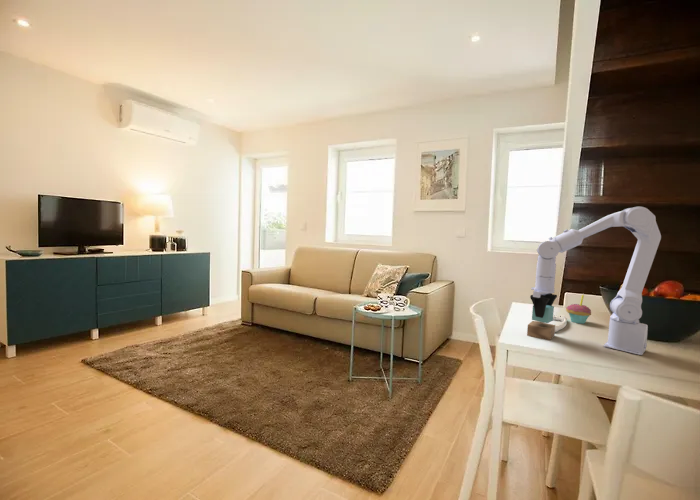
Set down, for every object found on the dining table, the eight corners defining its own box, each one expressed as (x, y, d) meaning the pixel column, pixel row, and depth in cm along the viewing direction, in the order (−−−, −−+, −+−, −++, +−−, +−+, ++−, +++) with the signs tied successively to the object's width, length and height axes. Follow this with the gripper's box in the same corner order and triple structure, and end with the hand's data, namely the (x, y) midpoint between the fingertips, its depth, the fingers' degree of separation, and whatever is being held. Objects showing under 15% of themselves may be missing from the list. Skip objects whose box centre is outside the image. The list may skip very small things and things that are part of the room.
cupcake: (595, 325, 135) (598, 294, 134) (573, 324, 135) (576, 294, 134) (581, 319, 144) (583, 290, 143) (560, 318, 144) (562, 289, 143)
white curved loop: (571, 322, 140) (558, 335, 121) (543, 317, 147) (527, 329, 128) (571, 315, 140) (559, 328, 121) (544, 310, 147) (528, 322, 128)
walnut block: (554, 336, 120) (555, 324, 120) (550, 341, 115) (551, 329, 115) (531, 331, 125) (532, 320, 125) (526, 336, 119) (527, 324, 119)
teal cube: (552, 320, 119) (553, 306, 119) (547, 323, 116) (548, 308, 115) (537, 317, 123) (538, 303, 123) (531, 319, 120) (532, 305, 119)
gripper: (540, 273, 126) (537, 310, 127) (524, 276, 116) (521, 316, 117) (562, 276, 121) (559, 314, 122) (547, 279, 111) (544, 321, 112)
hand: (542, 315), depth 119 cm, fingers closed on teal cube, 5 cm apart
